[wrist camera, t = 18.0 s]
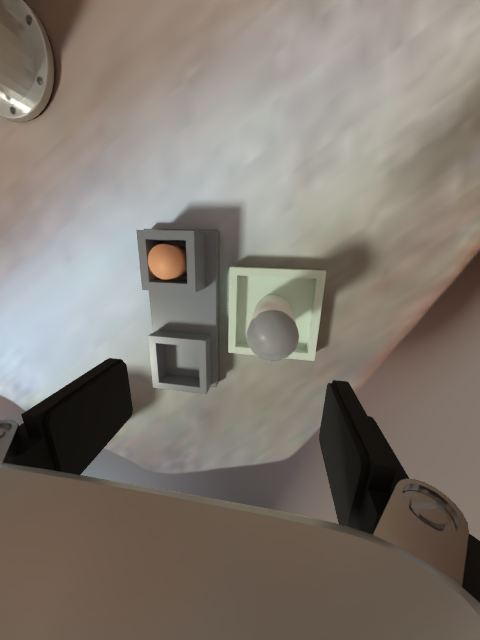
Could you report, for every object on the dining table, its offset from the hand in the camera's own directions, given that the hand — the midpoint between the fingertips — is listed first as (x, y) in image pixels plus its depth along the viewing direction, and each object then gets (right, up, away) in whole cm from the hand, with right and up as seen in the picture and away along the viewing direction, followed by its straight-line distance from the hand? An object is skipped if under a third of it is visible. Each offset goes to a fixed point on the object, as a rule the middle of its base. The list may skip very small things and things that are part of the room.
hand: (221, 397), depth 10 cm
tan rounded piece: (-7, +11, +20) cm, 24 cm away
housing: (-7, +5, +24) cm, 25 cm away
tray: (+6, +5, +22) cm, 23 cm away
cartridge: (+5, +5, +21) cm, 22 cm away
